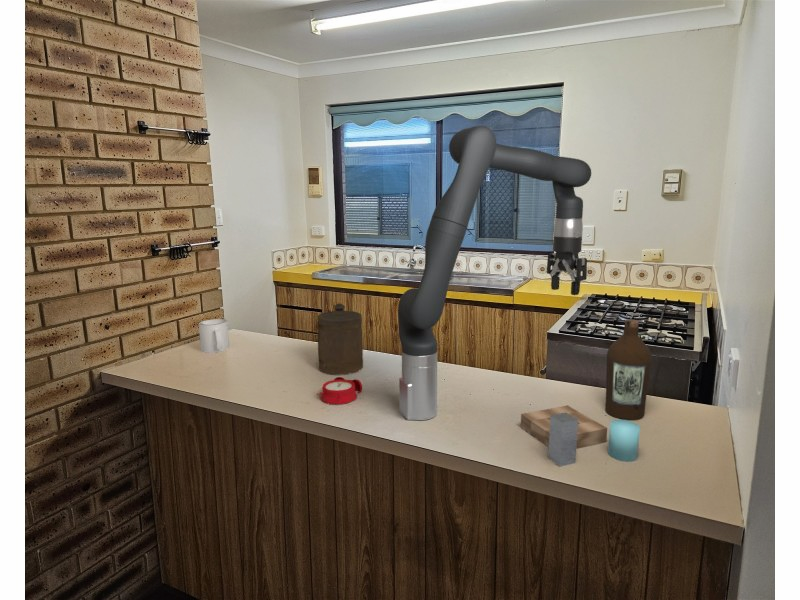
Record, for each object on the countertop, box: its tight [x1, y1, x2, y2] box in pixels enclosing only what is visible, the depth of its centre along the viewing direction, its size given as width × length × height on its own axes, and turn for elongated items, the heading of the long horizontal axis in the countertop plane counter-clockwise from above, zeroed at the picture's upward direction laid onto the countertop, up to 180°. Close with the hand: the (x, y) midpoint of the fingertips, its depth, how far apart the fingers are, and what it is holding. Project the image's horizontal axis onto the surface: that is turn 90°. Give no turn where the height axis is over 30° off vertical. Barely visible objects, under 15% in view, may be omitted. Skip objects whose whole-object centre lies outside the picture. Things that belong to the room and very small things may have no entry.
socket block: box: [520, 405, 608, 450], centre depth 122 cm, size 14×14×4 cm
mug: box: [198, 318, 230, 354], centre depth 192 cm, size 14×10×11 cm
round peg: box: [607, 419, 641, 463], centre depth 112 cm, size 6×6×7 cm
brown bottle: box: [604, 318, 653, 421], centre depth 132 cm, size 11×11×25 cm
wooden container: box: [317, 303, 364, 375], centre depth 170 cm, size 15×15×22 cm
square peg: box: [547, 412, 578, 468], centre depth 110 cm, size 4×4×10 cm
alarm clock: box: [316, 376, 363, 405], centre depth 148 cm, size 10×6×15 cm
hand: (564, 292), depth 145 cm, fingers open, 8 cm apart
